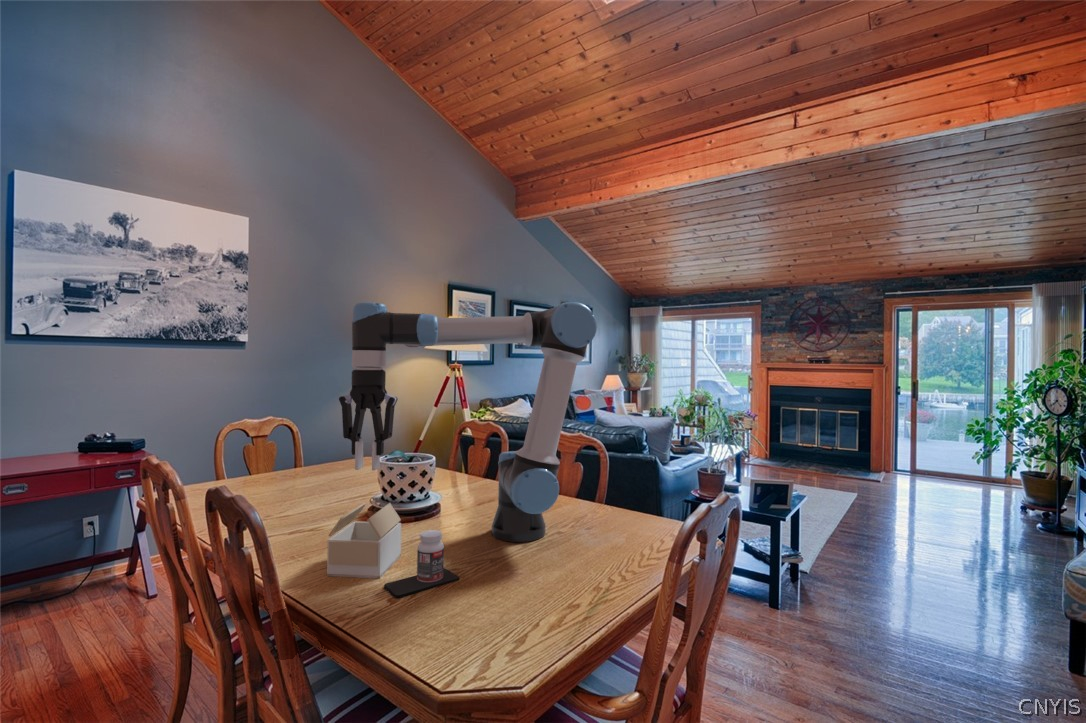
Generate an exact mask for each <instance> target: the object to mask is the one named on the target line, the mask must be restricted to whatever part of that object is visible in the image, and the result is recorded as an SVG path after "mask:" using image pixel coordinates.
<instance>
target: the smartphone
mask: <svg viewBox="0 0 1086 723" xmlns="http://www.w3.org/2000/svg"><path fill="white" fill-rule="evenodd" d="M458 581H460V577H459V576H458V575H457V574H455V573H454V572H453V571H451V570H450V569H448V568H444V569H443V578H442V579H440V580H438V581H435V582H421V581H419V580H418V579H417V574H415V575H413V576H409V577H405V578H401V579H398V580H393V581H390V582H386V583H385V584H384V585H383V589H384V590H386V592H387V593H388V594H390V596H391V597H393V599H399V600H400V599H402V598H406V597H409V596H413V595H415V594H420V593H422V592H426V591H429V590H432V589H435V588H439V587H441V586H445V585H448V584H452V583H456V582H458Z"/></svg>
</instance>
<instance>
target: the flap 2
mask: <svg viewBox="0 0 1086 723" xmlns="http://www.w3.org/2000/svg"><path fill="white" fill-rule="evenodd" d="M366 520H367V522H369V524H370V525H371V527H372V528H373V530H374V531H375V533H376V534H377V536H378V537H379V539H380V538H381V537H382V536H383V535H384V534H386V533H387V532H388V531H389V530H390V529H391V528H392V527H393V526H395V525H396V524H397V523H400V522H401V520H402V519H401V518H400V515H399V514H398V513H397V511H396V510H395V509H394V507H393V504H391V502H389V503H388V504H386V505H385V506H383V507H382V508H381V509H379V510H378V511H377V512H375V513H373V515H371V516H370V517H369V518H367V519H366Z"/></svg>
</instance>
